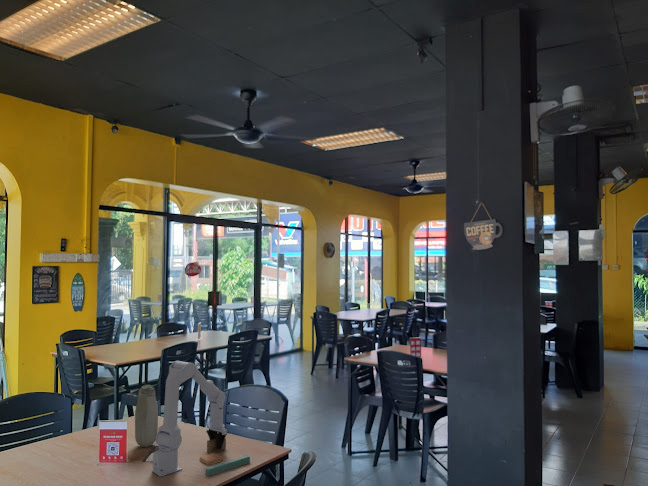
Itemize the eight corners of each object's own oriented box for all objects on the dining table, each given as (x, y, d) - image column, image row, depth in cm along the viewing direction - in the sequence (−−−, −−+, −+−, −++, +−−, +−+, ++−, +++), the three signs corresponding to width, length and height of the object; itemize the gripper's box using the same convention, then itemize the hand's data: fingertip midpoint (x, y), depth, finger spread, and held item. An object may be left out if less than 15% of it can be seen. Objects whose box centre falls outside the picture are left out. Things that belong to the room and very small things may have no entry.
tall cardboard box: (210, 453, 222) (210, 442, 222) (207, 451, 224) (207, 440, 224) (225, 449, 227) (225, 438, 227) (222, 447, 229) (222, 436, 229)
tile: (207, 466, 208) (207, 461, 208) (199, 461, 213) (199, 456, 214) (222, 461, 213) (222, 457, 213) (213, 457, 218) (213, 452, 218)
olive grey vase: (158, 447, 229) (158, 386, 230) (134, 450, 225) (135, 388, 227) (157, 440, 238) (157, 382, 240) (134, 443, 234) (135, 384, 236)
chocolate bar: (174, 445, 231) (163, 460, 213) (174, 447, 231) (163, 462, 213) (155, 445, 230) (142, 460, 212) (154, 447, 230) (142, 463, 212)
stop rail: (208, 476, 197) (208, 469, 197) (205, 474, 199) (205, 468, 199) (249, 462, 211) (249, 456, 211) (247, 461, 212) (247, 455, 212)
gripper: (232, 418, 224) (232, 449, 223) (216, 411, 234) (216, 440, 233) (219, 421, 219) (218, 453, 218) (202, 414, 229) (202, 444, 229)
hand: (216, 447), depth 225 cm, fingers open, 5 cm apart
